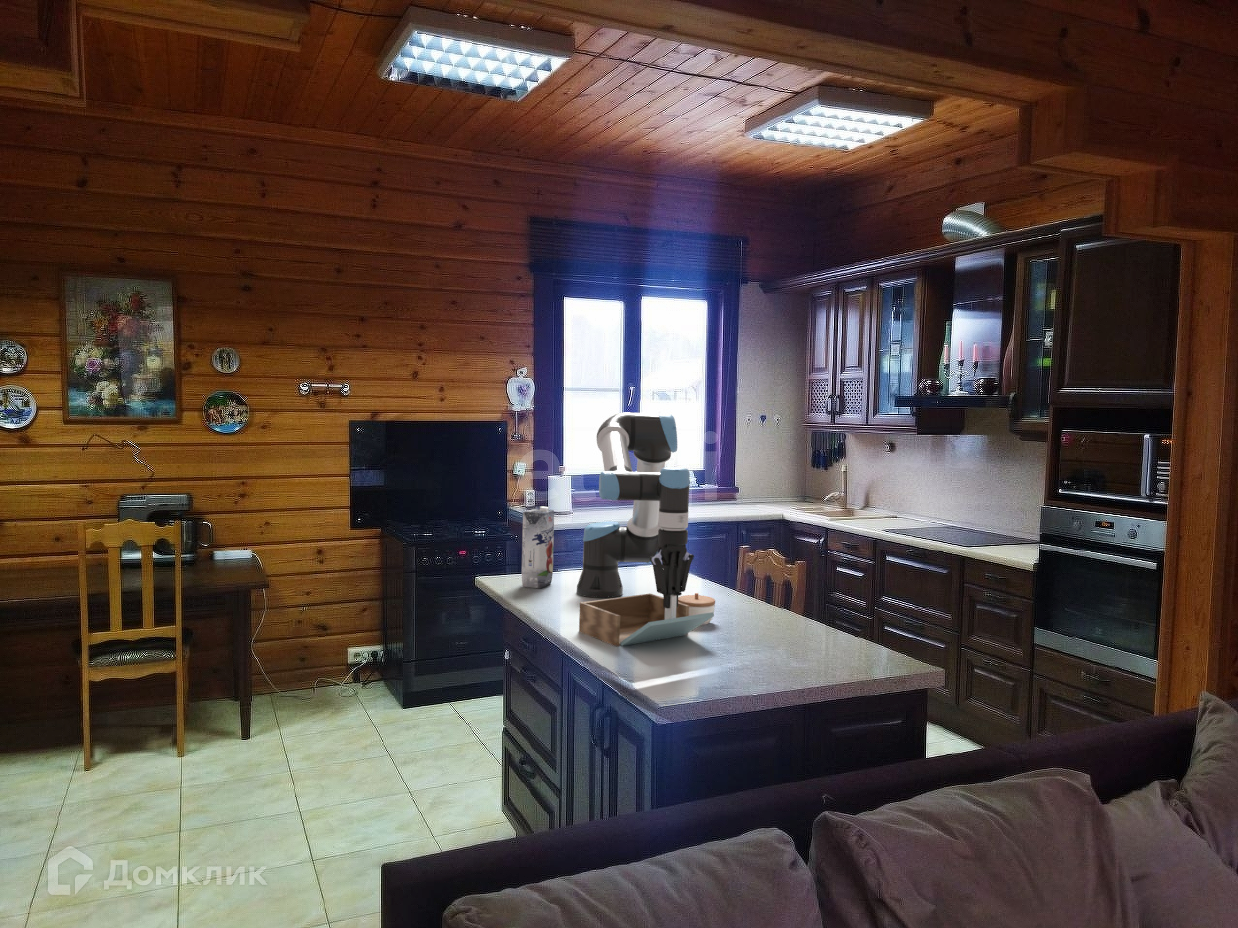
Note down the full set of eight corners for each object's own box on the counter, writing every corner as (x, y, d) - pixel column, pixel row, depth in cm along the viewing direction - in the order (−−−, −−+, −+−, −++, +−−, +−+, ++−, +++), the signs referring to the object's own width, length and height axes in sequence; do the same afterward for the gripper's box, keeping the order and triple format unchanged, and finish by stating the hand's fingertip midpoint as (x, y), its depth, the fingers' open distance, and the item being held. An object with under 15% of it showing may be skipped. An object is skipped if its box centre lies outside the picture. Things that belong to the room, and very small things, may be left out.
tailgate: (618, 643, 230) (648, 622, 219) (681, 633, 242) (713, 612, 232) (619, 647, 230) (650, 625, 219) (682, 636, 242) (714, 615, 231)
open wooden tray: (578, 635, 242) (579, 602, 241) (649, 624, 256) (650, 593, 256) (615, 650, 228) (616, 616, 228) (687, 638, 242) (689, 605, 242)
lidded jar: (720, 624, 259) (721, 592, 258) (704, 632, 249) (705, 599, 249) (687, 619, 264) (688, 587, 263) (670, 626, 255) (671, 594, 254)
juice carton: (518, 587, 301) (520, 507, 299) (530, 581, 311) (532, 503, 309) (543, 589, 298) (545, 508, 296) (554, 583, 308) (556, 505, 306)
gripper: (662, 531, 221) (659, 626, 222) (702, 528, 229) (699, 620, 230) (643, 528, 227) (640, 620, 228) (683, 525, 235) (680, 614, 236)
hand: (670, 620), depth 229 cm, fingers closed
